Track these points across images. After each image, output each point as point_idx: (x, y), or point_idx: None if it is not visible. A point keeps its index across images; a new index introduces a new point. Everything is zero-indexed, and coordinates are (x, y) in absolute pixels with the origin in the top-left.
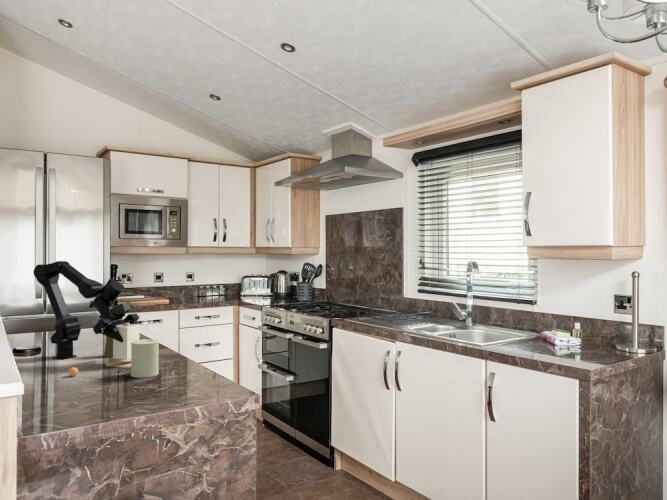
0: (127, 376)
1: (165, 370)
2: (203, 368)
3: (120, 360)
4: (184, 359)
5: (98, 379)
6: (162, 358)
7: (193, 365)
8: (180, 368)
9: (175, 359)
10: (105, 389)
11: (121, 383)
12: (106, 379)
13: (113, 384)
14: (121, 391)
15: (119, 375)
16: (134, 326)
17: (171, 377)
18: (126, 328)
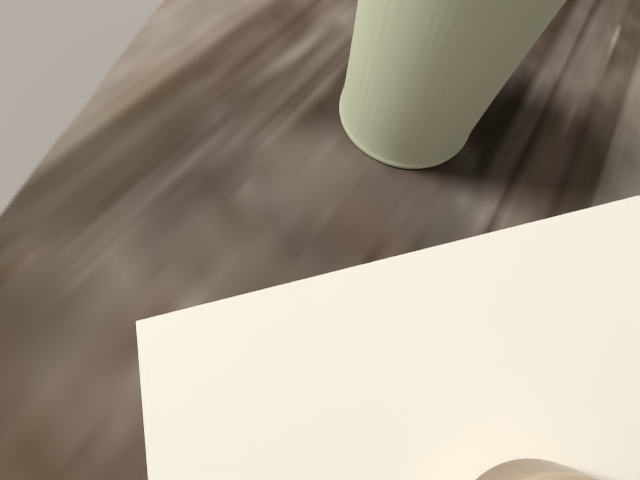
0: (483, 142)
1: (292, 99)
2: (160, 9)
3: None
4: (15, 212)
5: (614, 197)
6: (51, 364)
7: (132, 73)
8: (219, 77)
9: (41, 258)
10: (626, 55)
11: (549, 74)
12: (582, 169)
13: (580, 85)
14: (584, 4)
15: (505, 185)
16: (382, 261)
17: (355, 6)
18: (633, 233)
